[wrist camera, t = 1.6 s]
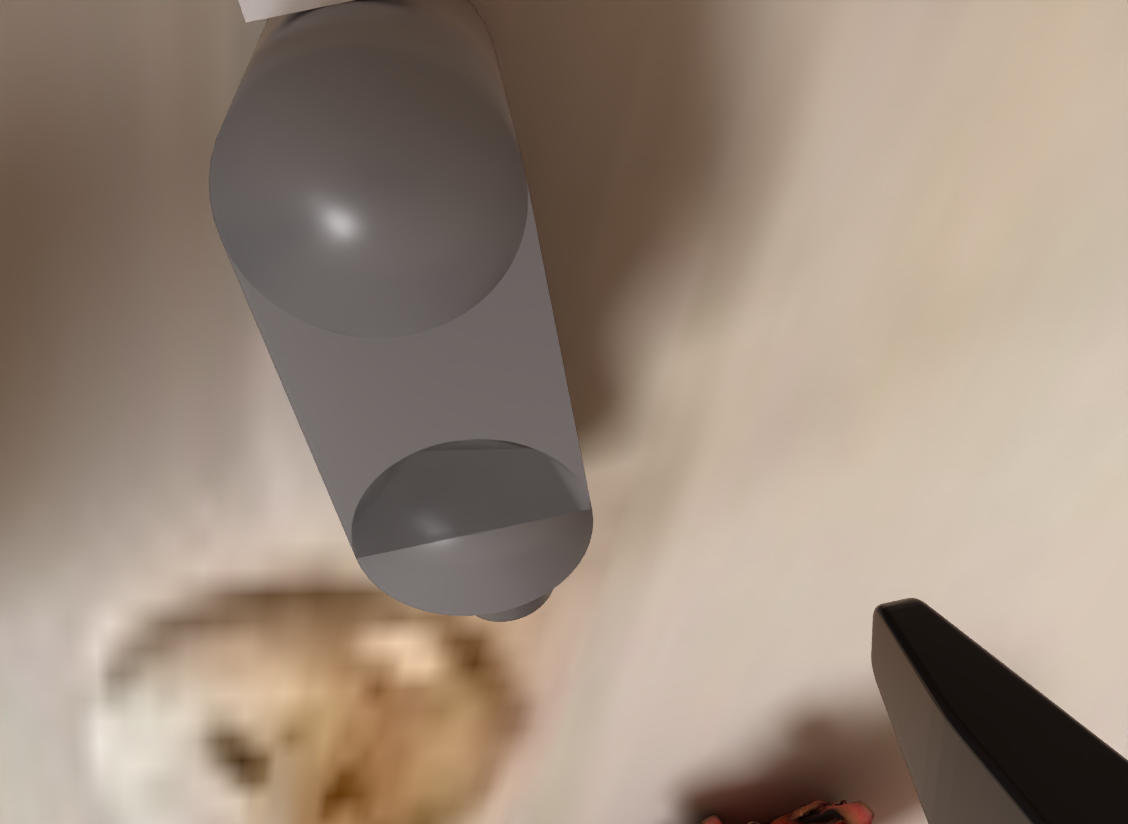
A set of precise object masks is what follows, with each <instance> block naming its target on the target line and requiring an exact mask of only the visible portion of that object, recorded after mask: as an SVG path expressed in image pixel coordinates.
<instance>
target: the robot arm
mask: <svg viewBox="0 0 1128 824" xmlns="http://www.w3.org/2000/svg"><path fill="white" fill-rule="evenodd" d="M871 661H872V667H873V672H874V676H875V679H876V682H877V685H878V688H879V691H880V693H881V696H882V699H883V702H884V704H885V707H886V710H887V712H888V715H889V718H890V721H891V723H892V726H893V729H894V732H895V734H896V737H897V740H898V742H899V745H900V748H901V751H902V753H903V756H904V759H905V762H906V764H907V767H908V770H909V773H910V775H911V778H912V781H913V783H914V786H915V789H916V792H917V794H918V797H919V800H920V803H921V805H922V808H923V810H924V813H925V816H926V818H927V821H928V823H929V824H1128V760H1127V759H1125V758H1124V757H1123V756H1122V755H1120V754H1119V753H1118V752H1116V751H1115V750H1114V749H1113V748H1111V747H1110V746H1109V745H1107V744H1106V743H1105V742H1103V741H1102V740H1101V739H1100V738H1098V737H1097V736H1096V735H1094V734H1093V733H1092V732H1091V731H1089V730H1088V729H1087V728H1085V727H1084V726H1083V725H1082V724H1080V723H1079V722H1078V721H1076V720H1075V719H1074V718H1073V717H1071V716H1070V715H1069V714H1067V713H1066V712H1065V711H1064V710H1062V709H1061V708H1060V707H1058V706H1057V705H1056V704H1055V703H1053V702H1052V701H1051V700H1049V699H1048V698H1047V697H1045V696H1044V695H1043V694H1042V693H1040V692H1039V691H1038V690H1036V689H1035V688H1034V687H1033V686H1031V685H1030V684H1029V683H1027V682H1026V681H1025V680H1024V679H1022V678H1021V677H1020V676H1018V675H1017V674H1016V673H1015V672H1013V671H1012V670H1011V669H1009V668H1008V667H1007V666H1006V665H1004V664H1003V663H1002V662H1000V661H999V660H998V659H997V658H995V657H994V656H993V655H991V654H990V653H989V652H987V651H986V650H985V649H984V648H982V647H981V646H980V645H978V644H977V643H976V642H975V641H973V640H972V639H971V638H969V637H968V636H967V635H966V634H964V633H963V632H962V631H960V630H959V629H958V628H957V627H955V626H954V625H953V624H951V623H950V622H949V621H948V620H946V619H945V618H944V617H942V616H941V615H940V614H939V613H937V612H936V611H935V610H933V609H932V608H931V607H929V606H928V605H927V604H926V603H924V602H923V601H921V600H919V599H915V598H907V599H902V600H898V601H893V602H889V603H884V604H880V605H878V606H877V607H876V608H875V610H874V613H873V628H872V651H871Z"/></svg>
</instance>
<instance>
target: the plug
mask: <svg viewBox="0 0 1128 824" xmlns="http://www.w3.org/2000/svg"><path fill="white" fill-rule="evenodd" d="M238 2H239V4H240V7H241V10H242V13H243V16H244V19H245V22H246V23H247V22H252V21H257V20H261V19H266V18H268V20H267V23H266V25H265V27H264V30H263V32H262V34H261V37H260V39H259V41H258V44H257V46H256V48H255V50H254V53H253V55H252V57H251V60H250V62H249V64H248V67H247V69H246V71H245V74H244V76H243V78H242V81H241V83H240V85H239V87H238V90H237V92H236V94H235V97H234V99H233V101H232V104H231V106H230V108H229V111H228V113H227V115H226V118H225V120H224V122H223V125H222V127H221V129H220V132H219V134H218V136H217V139H216V141H215V145H214V149H213V153H212V157H211V163H210V173H209V192H210V202H211V208H212V213H213V218H214V221H215V224H216V227H217V230H218V233H219V235H220V238H221V241H222V243H223V245H224V248H225V250H226V252H227V255H228V257H229V259H230V262H231V264H232V266H233V269H234V271H235V274H236V276H237V278H238V281H239V283H240V285H241V288H242V290H243V292H244V295H245V297H246V300H247V302H248V304H249V307H250V309H251V311H252V314H253V316H254V318H255V321H256V323H257V325H258V328H259V330H260V333H261V335H262V337H263V340H264V342H265V344H266V347H267V349H268V351H269V354H270V356H271V359H272V361H273V363H274V366H275V368H276V370H277V373H278V375H279V377H280V380H281V382H282V384H283V387H284V389H285V392H286V394H287V396H288V399H289V401H290V403H291V406H292V408H293V410H294V413H295V415H296V418H297V420H298V422H299V425H300V427H301V429H302V432H303V434H304V436H305V439H306V441H307V443H308V446H309V448H310V451H311V453H312V455H313V458H314V460H315V462H316V465H317V467H318V469H319V472H320V474H321V477H322V479H323V481H324V484H325V486H326V488H327V491H328V493H329V495H330V498H331V500H332V502H333V505H334V507H335V510H336V512H337V514H338V517H339V519H340V521H341V524H342V526H343V528H344V531H345V533H346V536H347V538H348V540H349V543H350V545H351V547H352V550H353V552H354V554H355V557H356V559H357V561H358V563H359V565H360V567H361V569H362V570H363V571H364V573H365V574H366V575H367V577H368V578H369V579H370V580H371V581H372V582H373V583H374V584H375V585H376V586H377V587H378V588H379V589H381V590H382V591H383V592H385V593H386V594H387V595H389V596H391V597H392V598H394V599H396V600H398V601H399V602H402V603H404V604H406V605H409V606H411V607H414V608H417V609H420V610H423V611H427V612H432V613H437V614H444V615H454V616H473V615H476V616H477V617H479V618H482V619H485V620H488V621H494V622H506V621H512V620H516V619H520V618H522V617H525V616H527V615H529V614H531V613H533V612H534V611H536V610H537V609H538V608H540V607H541V606H542V605H543V604H544V603H545V602H546V600H547V599H548V598H549V596H550V595H551V593H552V590H553V588H555V587H556V586H557V585H559V584H560V583H561V582H562V581H564V580H565V579H566V578H567V577H568V576H569V575H570V574H571V573H572V571H573V570H574V569H575V568H576V567H577V565H578V564H579V563H580V561H581V559H582V558H583V556H584V554H585V552H586V550H587V548H588V545H589V543H590V539H591V535H592V529H593V515H592V507H591V502H590V497H589V492H588V487H587V482H586V477H585V472H584V466H583V461H582V456H581V451H580V446H579V441H578V436H577V431H576V426H575V421H574V416H573V411H572V406H571V401H570V396H569V391H568V386H567V381H566V375H565V370H564V365H563V360H562V355H561V350H560V345H559V340H558V335H557V330H556V325H555V320H554V315H553V310H552V305H551V300H550V295H549V290H548V284H547V279H546V274H545V269H544V264H543V259H542V254H541V249H540V244H539V239H538V234H537V229H536V224H535V219H534V214H533V209H532V204H531V199H530V193H529V188H528V183H527V178H526V173H525V169H524V165H523V161H522V157H521V153H520V149H519V145H518V141H517V137H516V133H515V129H514V125H513V121H512V117H511V113H510V109H509V105H508V101H507V97H506V93H505V89H504V85H503V81H502V77H501V73H500V69H499V65H498V61H497V57H496V54H495V50H494V46H493V42H492V40H491V37H490V35H489V33H488V30H487V28H486V26H485V24H484V22H483V21H482V19H481V17H480V15H479V13H478V12H477V11H476V9H475V8H474V7H473V5H472V4H471V3H470V1H469V0H238Z"/></svg>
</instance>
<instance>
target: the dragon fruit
mask: <svg viewBox="0 0 1128 824" xmlns="http://www.w3.org/2000/svg"><path fill="white" fill-rule="evenodd" d="M845 801H846V800H842V801H839V802H841V803H840V804H835V803H836V802H830V803H832V806H829V803H828V802H823V801H821V800H818V801H814V802H812V803H810V804H809V805H807V806H803V807H802V806H801V808H800V809H797V810H795V811H794V812H791V813H788V814H785V815H783V816H781V817H779V818H777V819H775V820H774V821H773V822H771V823H770V824H871V822H872V820H873V817H874V813H873V811H872V810H871V809H870V808H869V807H868V806H867V805H866V804H865V803H863V802H861V801H859V802H852V803H850V804H847V803H846V802H845ZM837 803H838V802H837ZM833 804H835V805H833ZM807 812H809V813H807ZM839 820H842V821H841V822H838V821H839ZM836 822H837V823H836ZM702 824H722V823H721V821H720V820H719V818H718V817H717V816H715V815H712V816H709V817H708V818H706V819H704V820H703V822H702ZM748 824H760V823H757V822H754V821H752V822H749V823H748ZM767 824H768V823H767Z"/></svg>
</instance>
